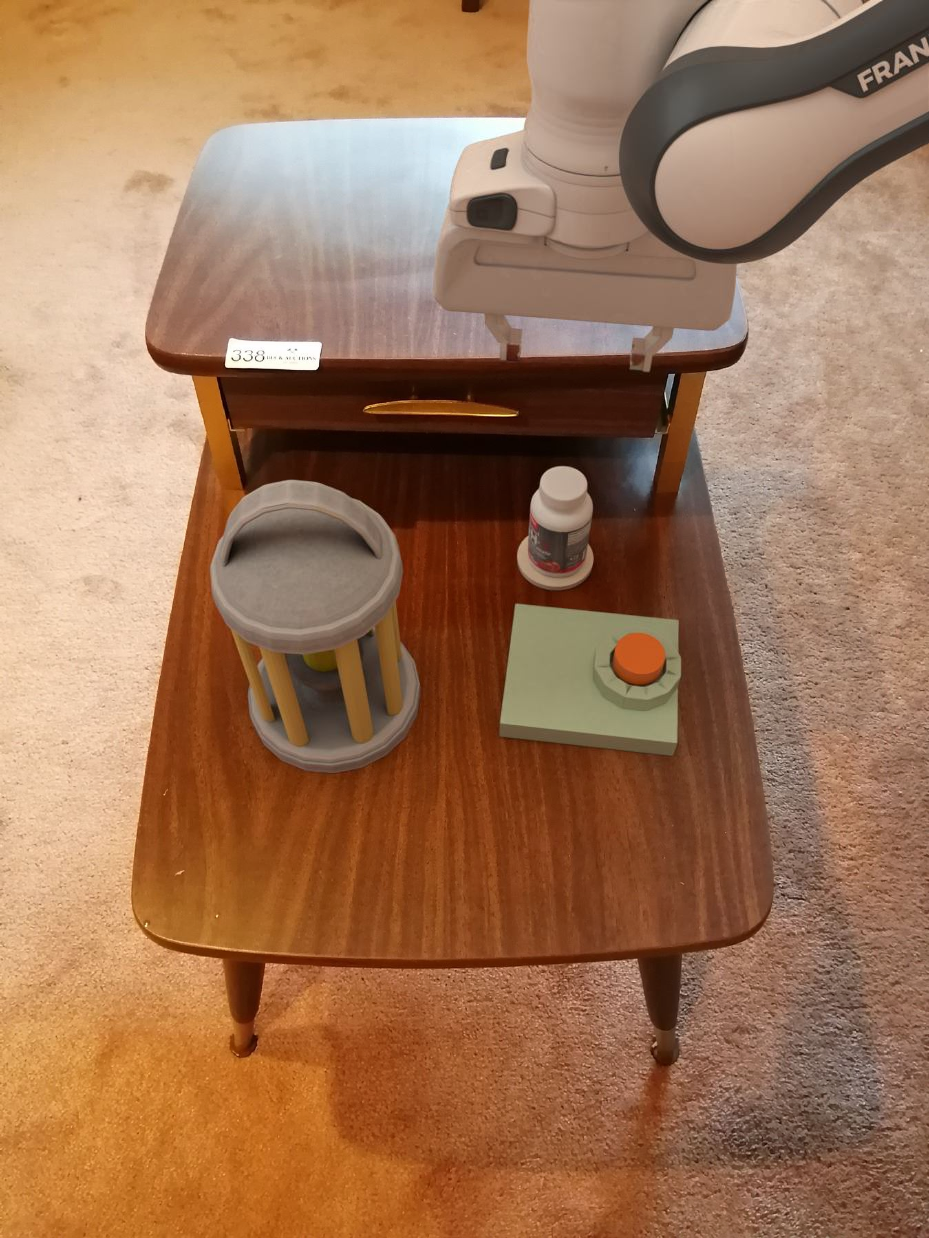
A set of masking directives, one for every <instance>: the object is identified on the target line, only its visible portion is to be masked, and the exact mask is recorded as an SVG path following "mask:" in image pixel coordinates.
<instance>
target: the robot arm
mask: <svg viewBox="0 0 929 1238" xmlns="http://www.w3.org/2000/svg"><path fill="white" fill-rule="evenodd" d="M525 56H526V67H527V71H528V76H529V79H530V80H529V81H530V86H531V97H530V104H529V108H528V111H527V113H526V116H525V120H524V123H523V129H521V130H517V131H515V132H511V133H507V134H504V135H500V136H496V137H492V138H488V139H483V140H480V141H476V142H473V143H470V144H468V145H467V146H465V147H464V148H463V150H462V152H461V154H460V155H459V158H458V160H457V163H456V165H455V168H454V171H453V174H452V178H451V183H450V189H449V198H448V199H449V201H448V204H447V206H446V210H445V213H444V217H443V220H442V223H441V228H440V232H439V237H438V241H437V246H436V252H435V256H434V257H435V259H434V267H433V279H432V280H433V281H432V283H433V284H432V293H433V298H434V300H435V301H436V302H437V303H438V304H439V305H440V307H441V308H443V310H444V311H448V312H457V313H458V312H459V313H471V314H473V313H474V314H482V315H483V314H484V325H485V326H486V328H487V329H488V331H489V332H490V333H491V334H492V336H493V338H494V339H495V341H496V342H497V343H499V360H500V361H507V362H520V361H521V354H522V349H523V345H522V344H523V341H522V340H523V329H522V328H515V327H514V328H513V327H512V326H511V324H510V323H509V320H508V319H507V317H506V316H509V317H510V316H511V317H524V318H525V317H526V318H537V319H538V318H539V319H549V320H550V319H551V320H565V321H574V322H575V321H577V322H589V323H601V324H602V323H603V324H615V325H616V324H617V325H619V324H620V325H630V326H640V327H641V326H642V327H652V328H651V329H650V331H648V333H647V334H646V335H645V336H644V337H632V342H631V349H630V356H629V369H628V370H629V371H634V372H643V373H650V371H651V367H652V362H653V361H652V360H653V356H655V355H657V353H658V352H659V351H661V349H662V348H663V347H664V346H666V345H667V344H668V343H669V341H671V340H672V339H673V335H674V330H675V329H681V330H695V331H707V332H709V331H710V332H713V331H717V330H718V329H720V328H721V327H722V326H724V325H725V324H726V323H728V322H729V320H730V319H731V317H732V311H733V307H734V301H735V294H736V285H737V268H738V267H737V265H739V264H747V263H752V262H756V261H760V260H763V259H766V258H768V257H771V256H773V255H775V254H777V253H779V252H781V251H782V250H784V249H786V248H788V247H789V246H790V245H792V244H793V243H795V242H796V241H797V240H799V238H801V237H802V236H803V235H805V233H806V232H808V230H810V228H812V227H813V226H814V225H815V223H817V222H818V221H819V219H821V218H822V217H823V216H824V215H825V213H827V212H828V210H830V209H831V207H833V205H834V204H836V203H837V202H838V201H839V200H840V199H841V198H842V197H843V196H844V195H845V194H847V193H848V192H850V190H852V189H853V188H854V187H855V186H857V185H858V184H860V183H861V182H863V181H864V180H866V179H867V178H868V177H870V176H871V175H873V174H875V173H876V172H878V171H880V170H881V169H883V168H885V167H886V166H888V165H890V164H892V163H894V162H896V161H897V160H899V159H901V158H903V157H905V156H907V155H909V154H911V153H913V152H915V151H917V150H918V149H921V148H923V147H925V146H927V145H928V144H929V0H868V1H866V2H865V0H529V4H528V17H527V32H526V55H525Z"/></svg>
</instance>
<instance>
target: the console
mask: <svg viewBox="0 0 929 1238" xmlns="http://www.w3.org/2000/svg"><path fill="white" fill-rule="evenodd" d="M679 627H680V625H679V619H671V618H662V617H653V616H642V615H631V614H622V613H614V612H613V613H611V612H603V611H602V612H601V611H592V610H582V609H573V608H562V607H555V606H554V607H553V606H543V605H532V604H523V603H515V604H514V611H513V619H512V627H511V635H510V642H509V649H508V650H509V651H508V658H507V665H506V673H505V681H504V687H503V695H502V703H501V711H500V719H499V732H498V733H499V735H498V737H501V738H508V739H509V738H510V739H520V740H527V741H535V742H536V741H537V742H544V743H554V744H563V745H571V746H580V747H589V748H597V749H607V750H616V751H625V752H634V753H643V754H651V755H659V756H668V757H673V756H674V754H675V751H676V748H677V746H678V736H679V735H678V731H679V730H678V729H679V728H678V726H679V725H678V722H679V721H678V717H679V716H678V715H679V713H678V712H679V684H680V681H681V678H682V656H681V655H680V654H679ZM631 633H645V634H648V635H651V636H653V637H654V638H656V639H657V640H658V641H659V642H660V643H661V644H662V646H663V648H664V650H665V661H664V665H663V668H662V672H661V674H660V676H659V677H658V678H657V679H656V680H655V681H654V682H652V683H650V684H647V685H633V684H629V683H627V682H625V681H623V680H622V679H621V678H620V677H619V676H618V675H617V674H616V672H615V670H614V668H613V657H614V652H615V647H616V645H617V643H618V641H619V640H620V639H621V638H622V637H624V636H626V635H628V634H631Z"/></svg>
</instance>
